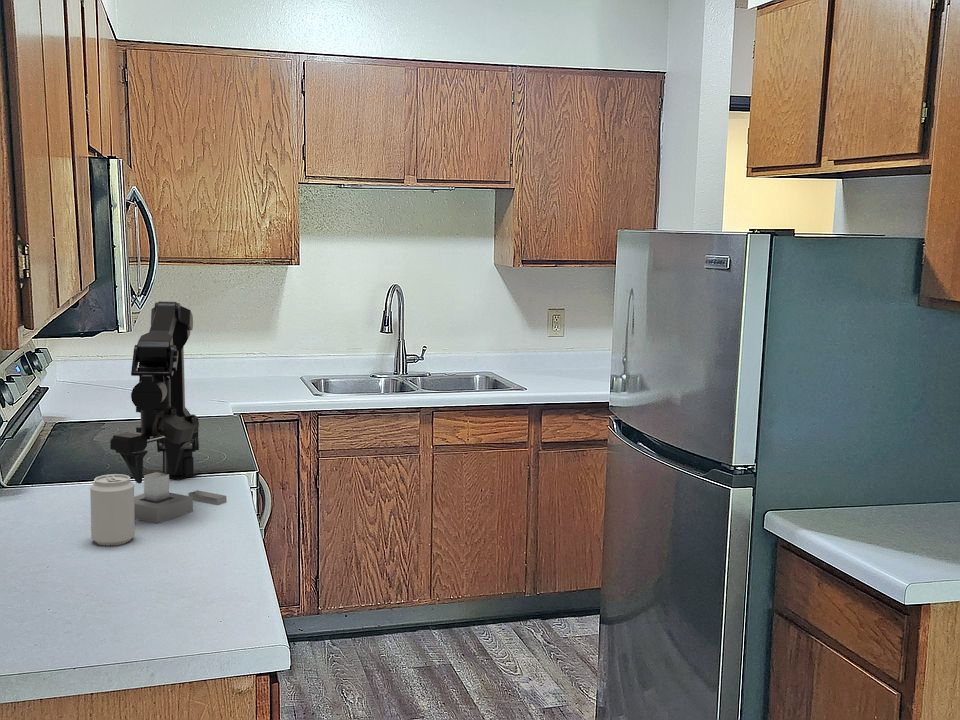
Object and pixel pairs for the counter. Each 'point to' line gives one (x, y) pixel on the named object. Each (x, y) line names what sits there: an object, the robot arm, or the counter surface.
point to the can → (112, 509)
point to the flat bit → (208, 497)
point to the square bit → (156, 487)
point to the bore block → (162, 508)
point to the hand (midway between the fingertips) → (156, 478)
